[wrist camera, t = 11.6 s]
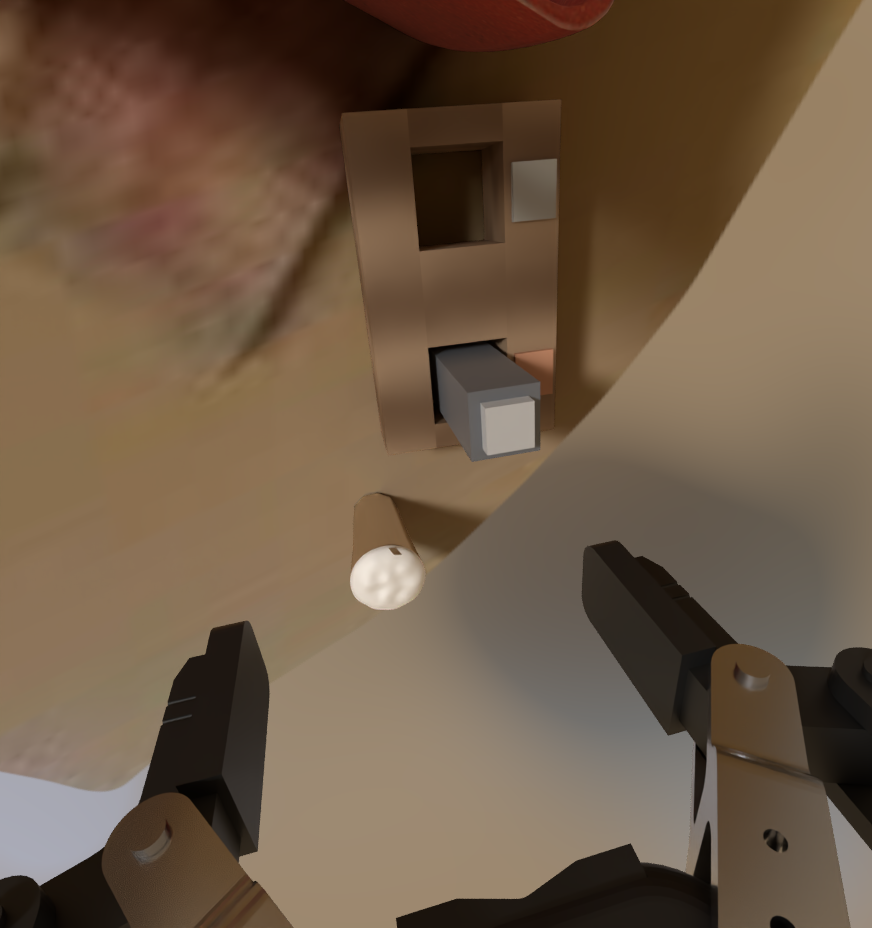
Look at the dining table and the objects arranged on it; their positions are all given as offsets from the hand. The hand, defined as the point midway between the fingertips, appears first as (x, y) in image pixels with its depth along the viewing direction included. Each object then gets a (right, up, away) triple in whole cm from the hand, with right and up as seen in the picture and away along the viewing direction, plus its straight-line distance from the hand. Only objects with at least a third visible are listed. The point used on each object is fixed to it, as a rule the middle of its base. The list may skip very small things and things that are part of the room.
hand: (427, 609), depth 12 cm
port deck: (+1, +15, +21) cm, 25 cm away
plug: (+1, +10, +23) cm, 25 cm away
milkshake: (-4, 0, +26) cm, 27 cm away
